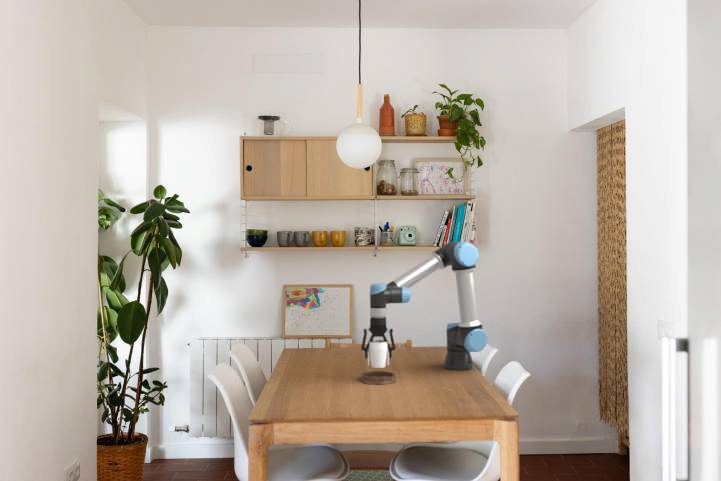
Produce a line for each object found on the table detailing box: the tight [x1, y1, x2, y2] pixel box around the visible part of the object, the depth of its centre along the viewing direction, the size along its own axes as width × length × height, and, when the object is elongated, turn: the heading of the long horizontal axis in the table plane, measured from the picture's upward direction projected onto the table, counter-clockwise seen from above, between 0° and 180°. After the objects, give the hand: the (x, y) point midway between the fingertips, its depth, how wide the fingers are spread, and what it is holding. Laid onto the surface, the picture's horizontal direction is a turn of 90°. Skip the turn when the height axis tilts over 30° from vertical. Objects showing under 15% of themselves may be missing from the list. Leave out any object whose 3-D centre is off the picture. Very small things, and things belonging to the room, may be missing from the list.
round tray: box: [360, 370, 398, 386], centre depth 313 cm, size 17×17×3 cm
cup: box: [368, 339, 389, 369], centre depth 313 cm, size 9×9×12 cm
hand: (378, 364), depth 313 cm, fingers closed on cup, 9 cm apart
